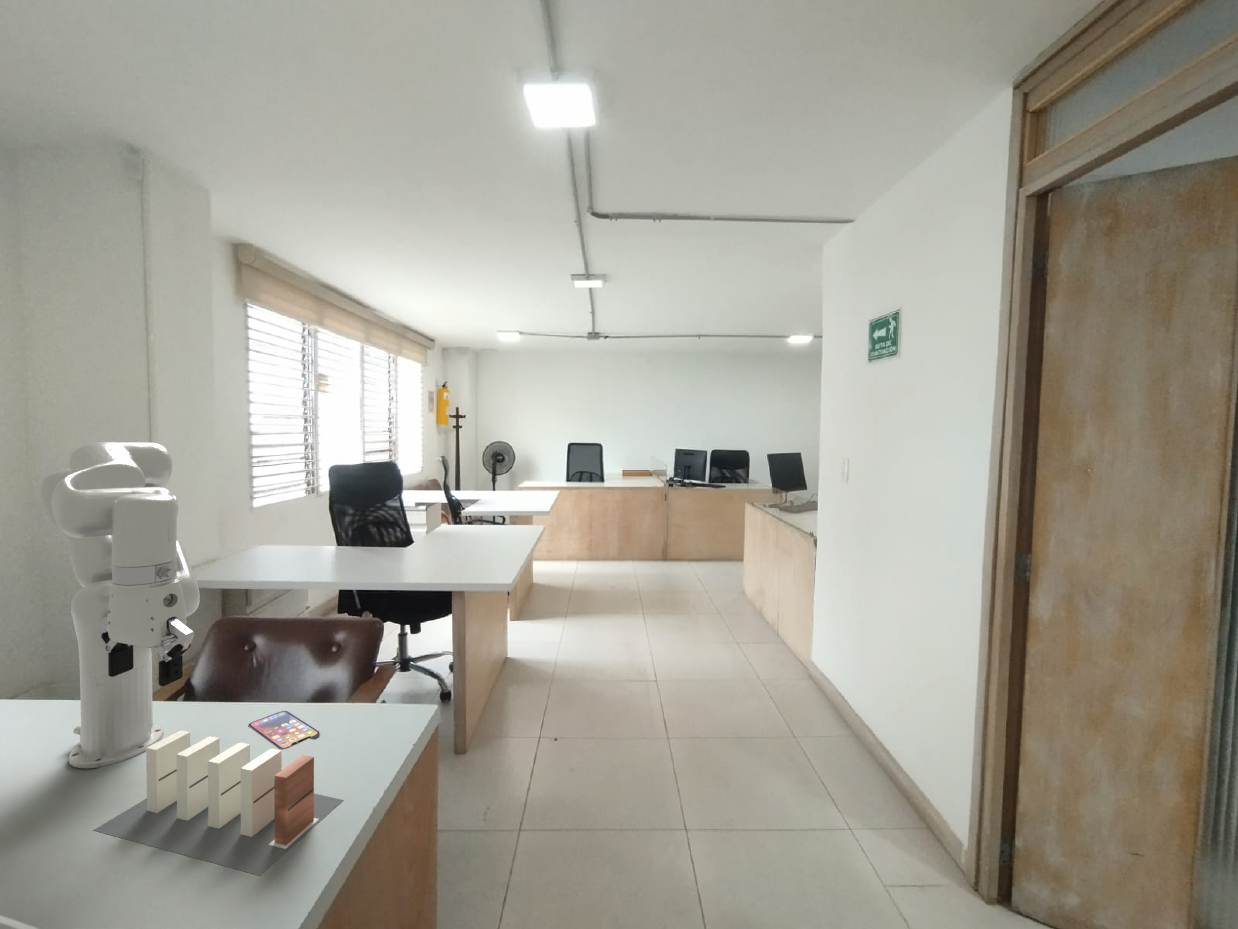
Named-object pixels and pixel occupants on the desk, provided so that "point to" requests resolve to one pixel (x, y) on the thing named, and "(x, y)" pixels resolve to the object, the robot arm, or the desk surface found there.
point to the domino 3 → (226, 784)
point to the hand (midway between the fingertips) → (145, 677)
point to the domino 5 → (294, 799)
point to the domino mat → (209, 835)
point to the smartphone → (284, 729)
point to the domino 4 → (258, 791)
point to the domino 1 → (164, 770)
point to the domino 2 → (194, 777)
